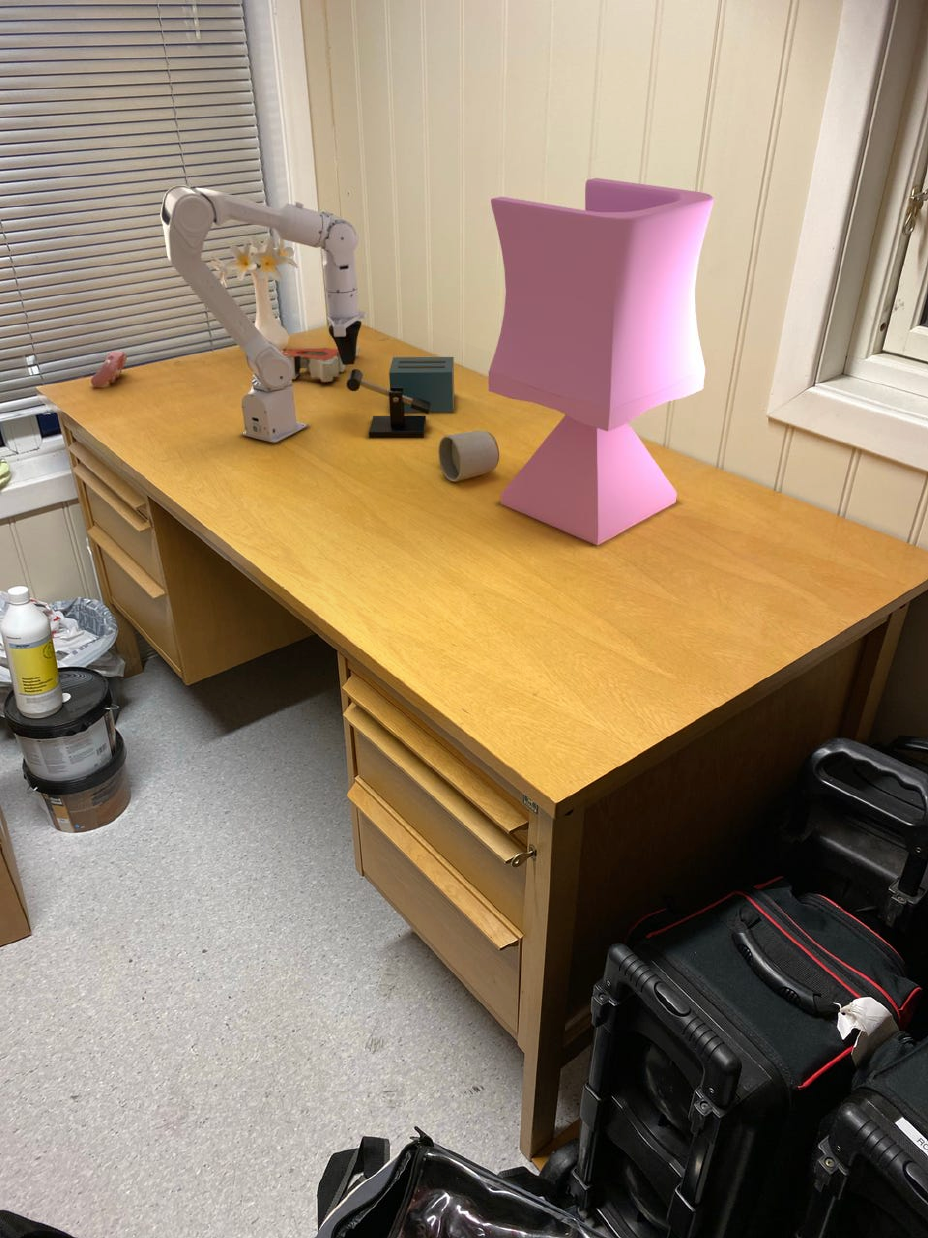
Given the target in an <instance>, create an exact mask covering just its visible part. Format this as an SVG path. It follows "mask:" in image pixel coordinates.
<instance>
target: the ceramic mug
mask: <svg viewBox="0 0 928 1238" xmlns="http://www.w3.org/2000/svg"><path fill="white" fill-rule="evenodd" d="M497 442H498V441H497V440H496V438H495V437H494V436H493V434H492V433H491V432H489V431H488V430H472V431H467V432H459V433H452V434H446V435H444V436H442V438H441V439H440V440H439V443H438V450H437V454H438V461H439V462H438V463H439V466H440V468H441V471H442V473H443V474H444V476H445V477H446V479H447V480H448V481H451V482H454V483H456V482H459V481H463V480H467V479H471V478H474V477H477V476H482V475H486V474H488V473H491V472H492V471H494V470H496V468H497V466H498V464H499V461H500V450H499V445H498V443H497Z"/></svg>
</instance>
